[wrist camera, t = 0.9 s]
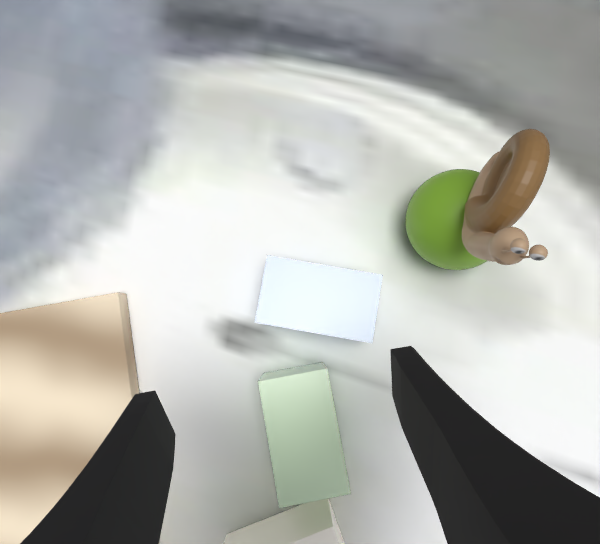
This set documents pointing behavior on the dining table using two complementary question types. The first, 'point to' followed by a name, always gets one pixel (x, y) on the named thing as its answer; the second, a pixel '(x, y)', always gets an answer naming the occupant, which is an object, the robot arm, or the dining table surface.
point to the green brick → (303, 435)
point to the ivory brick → (293, 527)
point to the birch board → (58, 399)
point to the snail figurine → (480, 208)
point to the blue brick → (319, 299)
